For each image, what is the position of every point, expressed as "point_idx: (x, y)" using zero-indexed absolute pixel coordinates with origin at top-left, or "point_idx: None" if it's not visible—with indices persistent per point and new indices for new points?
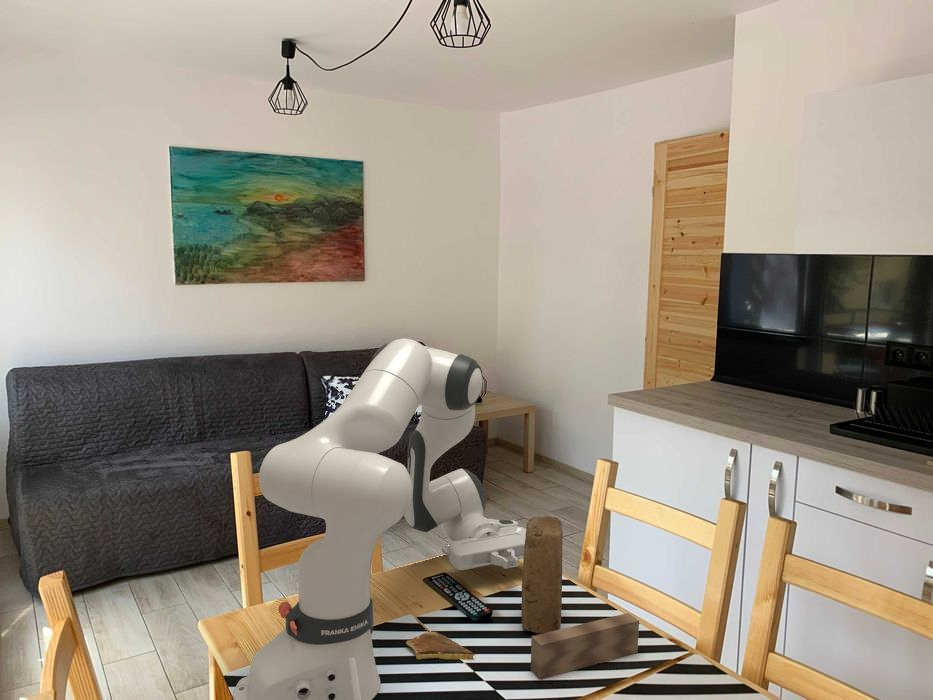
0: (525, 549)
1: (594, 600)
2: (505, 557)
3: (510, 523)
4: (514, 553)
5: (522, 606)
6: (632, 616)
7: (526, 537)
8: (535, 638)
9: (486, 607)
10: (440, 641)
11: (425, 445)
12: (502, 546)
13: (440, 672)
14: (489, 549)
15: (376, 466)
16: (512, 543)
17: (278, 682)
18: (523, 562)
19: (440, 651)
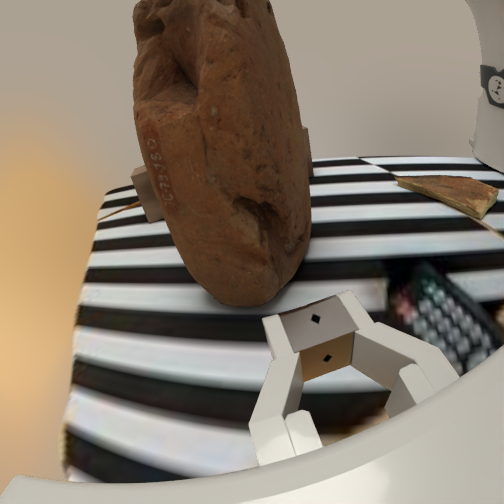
0: (280, 36)
1: (85, 341)
2: (346, 329)
3: None
4: (263, 386)
5: (308, 178)
6: (133, 172)
7: (271, 7)
8: (302, 127)
9: (405, 318)
10: (455, 188)
11: None
12: (365, 444)
13: (430, 170)
14: (480, 368)
15: None
16: (233, 501)
17: None
18: (290, 72)
19: (444, 177)
